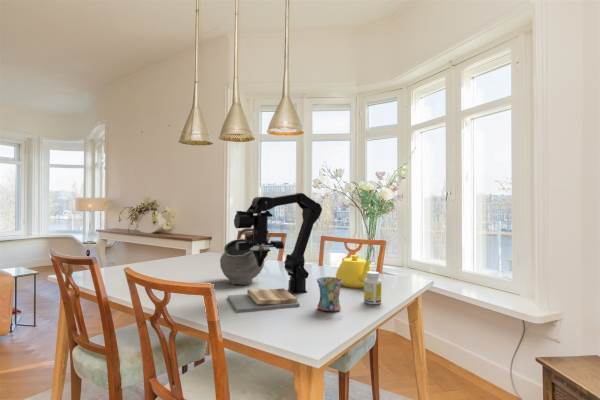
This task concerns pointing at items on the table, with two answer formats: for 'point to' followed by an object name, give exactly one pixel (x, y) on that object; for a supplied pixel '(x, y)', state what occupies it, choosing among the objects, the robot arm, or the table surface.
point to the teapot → (353, 271)
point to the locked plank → (284, 296)
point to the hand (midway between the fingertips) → (259, 266)
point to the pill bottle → (372, 288)
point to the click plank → (264, 296)
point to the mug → (329, 293)
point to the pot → (239, 262)
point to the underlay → (254, 304)
